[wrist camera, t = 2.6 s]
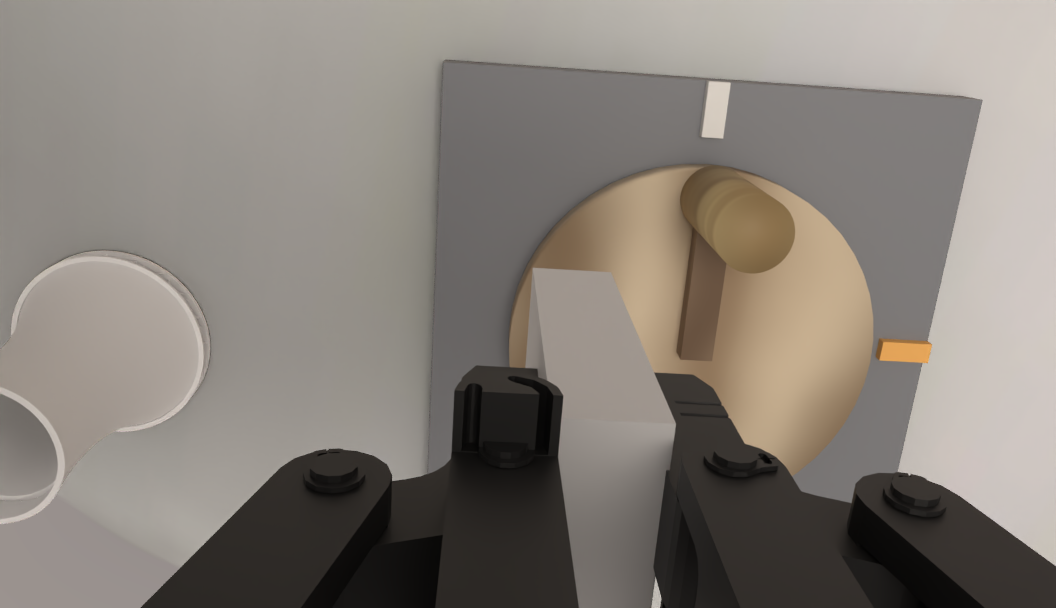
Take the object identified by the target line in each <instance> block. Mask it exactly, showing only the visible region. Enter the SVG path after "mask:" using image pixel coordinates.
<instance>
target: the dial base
mask: <svg viewBox="0 0 1056 608" xmlns="http://www.w3.org/2000/svg"><path fill="white" fill-rule="evenodd" d="M981 105H982V100H980V99H975V98H969V97H964V96H952V95H938V94H923V93H909V92H895V91H881V90H867V89H852V88H838V87H824V86H810V85H796V84H781V83H767V82H753V81H739V80H725V79H710V78H696V77H682V76H668V75H654V74H639V73H625V72H611V71H597V70H583V69H568V68H554V67H540V66H526V65H512V64H498V63H483V62H469V61H455V60H445V61H444V62H443V80H442V106H441V133H440V159H439V186H438V212H437V239H436V265H435V292H434V318H433V345H432V371H431V397H430V424H429V450H428V474H429V473H432V472H434V471H436V470H438V469H439V468H441V467H443V466H444V465H445V464H446V463H447V462H448V461H449V460H450V459H451V452H452V431H453V409H454V390H455V388H456V387H457V385H458V384H459V382H460V381H461V380H462V377H463V376H464V375H465V374H466V373H468V372H469V371H470V370H471V369H472V368H473V367H475V366H476V365H478V366H497V367H510V364H509V326H510V319H511V311H512V306H513V302H514V299H515V295H516V292H517V288H518V285H519V283H520V280H521V278H522V276H523V273H524V271H525V269H526V266H527V264H528V263H529V261H530V259H531V258H532V256H533V254H534V253H535V251H536V249H537V248H538V246H539V245H540V243H541V242H542V241H543V240H544V238H545V237H546V236H547V235H548V233H549V232H550V231H551V229H552V228H553V227H554V226H555V225H556V224H557V223H558V222H559V221H560V220H561V219H562V218H563V217H564V216H565V215H566V214H567V213H568V212H569V211H570V210H571V209H573V208H574V207H575V206H577V205H578V204H579V203H581V202H582V201H584V200H585V199H586V198H588V197H589V196H590V195H592V194H594V193H595V192H597V191H599V190H601V189H602V188H604V187H606V186H608V185H609V184H611V183H613V182H616V181H618V180H621V179H623V178H626V177H628V176H630V175H633V174H635V173H639V172H643V171H647V170H651V169H654V168H658V167H665V166H672V165H680V164H711V165H719V166H726V167H732V168H736V169H740V170H743V171H747V172H751V173H754V174H757V175H759V176H761V177H764V178H766V179H768V180H771V181H773V182H775V183H777V184H779V185H780V186H782V187H783V188H785V189H787V190H788V191H790V192H792V193H793V194H795V195H797V196H798V197H800V198H801V199H803V200H805V201H806V202H808V203H809V204H810V205H812V206H813V207H814V208H815V209H816V210H818V211H819V212H820V213H821V214H823V215H824V216H825V217H826V218H827V219H828V220H829V221H830V222H831V223H832V225H833V226H834V227H835V228H836V229H837V230H838V231H839V232H840V233H841V235H842V236H843V237H844V239H845V240H846V242H847V244H848V245H849V247H850V248H851V250H852V251H853V253H854V254H855V256H856V259H857V261H858V263H859V265H860V267H861V269H862V271H863V274H864V277H865V280H866V283H867V287H868V290H869V294H870V298H871V305H872V312H873V346H872V353H871V360H870V365H869V368H868V372H867V376H866V379H865V383H864V386H863V388H862V390H861V393H860V395H859V397H858V400H857V402H856V404H855V406H854V408H853V410H852V411H851V413H850V415H849V416H848V418H847V420H846V422H845V423H844V425H843V426H842V427H841V429H840V430H839V431H838V433H837V434H836V435H835V437H834V438H833V439H832V441H831V442H830V443H829V444H828V445H827V446H826V447H825V448H824V449H823V450H822V451H821V452H820V453H819V454H818V455H817V457H816V458H815V459H813V460H812V461H811V462H810V463H809V464H807V465H806V466H805V467H804V468H802V469H801V470H800V471H799V472H798V473H796V474H795V475H793V476H792V477H793V479H794V481H795V482H796V484H797V485H798V487H799V489H800V490H801V491H802V492H805V493H809V494H813V495H816V496H821V497H826V498H830V499H835V500H840V501H844V502H849V503H852V498H853V493H854V488H855V484H856V483H857V482H858V481H859V480H860V479H861V478H862V477H863V476H867V475H871V474H875V473H895V472H897V471H898V467H899V463H900V458H901V454H902V450H903V445H904V441H905V437H906V432H907V428H908V423H909V419H910V415H911V410H912V406H913V402H914V397H915V393H916V389H917V384H918V380H919V375H920V371H921V367H922V363H928V360H929V355H930V351H931V347H932V344H931V343H929V342H928V341H927V340H928V336H929V332H930V327H931V323H932V319H933V314H934V310H935V306H936V301H937V297H938V292H939V288H940V284H941V279H942V275H943V271H944V266H945V262H946V258H947V253H948V249H949V244H950V240H951V236H952V231H953V227H954V223H955V218H956V214H957V209H958V205H959V201H960V196H961V192H962V188H963V183H964V179H965V175H966V170H967V166H968V161H969V157H970V153H971V148H972V144H973V140H974V135H975V131H976V127H977V122H978V118H979V113H980V109H981Z"/></svg>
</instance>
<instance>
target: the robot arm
mask: <svg viewBox="0 0 1056 608" xmlns="http://www.w3.org/2000/svg"><path fill="white" fill-rule="evenodd" d="M728 416H729V415H728V413H727V411H726V410H725V408H724V406H722V403H721V401H720V399H719V397H718V396H717V394H716V392H715V390H714V389H713V388H712V387H711V386H709V385H708V384H706V383H705V382H704V381H702V380H701V379H699V378H698V377H696V376H695V375H693V374H674V373H655V372H654V371H653V369H652V367H651V364H650V362H649V360H648V357H647V355H646V353H645V350H644V348H643V346H642V343H641V341H640V339H639V336H638V334H637V332H636V329H635V327H634V325H633V322H632V320H631V318H630V315H629V313H628V311H627V308H626V306H625V304H624V301H623V299H622V297H621V294H620V292H619V290H618V287H617V285H616V283H615V280H614V278H613V276H612V273H611V272H598V271H581V270H564V269H547V268H533V271H532V285H531V298H530V312H529V325H528V338H527V352H526V365H525V368H516V367H497V366H478V365H476V366H475V367H473V368H472V369H471V370H470V371H469V372H468V373H466V374H465V375H464V376H463V377H462V380H461V381H460V382H459V384H458V385H457V387H456V388H455V390H454V409H453V431H452V452H451V459H450V460H449V461H448V462H447V463H446V464H445V465H444V466H443V467H441V468H439V469H438V470H436V471H434V472H432V473H429V474H426V475H424V476H421V477H416V478H411V479H406V480H398V481H392V474H391V472H390V470H389V468H388V466H387V464H385V463H384V462H382V461H381V460H379V459H378V458H376V457H375V456H372V455H368V454H365V453H361V452H358V451H348V450H343V449H329V450H328V451H326V449H325V450H319V451H315V452H313V453H310V454H306V455H303V456H300V457H297V458H294V459H293V460H291V461H290V462H288V463H287V464H285V465H284V466H282V467H281V468H280V469H279V470H278V471H277V472H276V473H275V474H274V475H273V476H272V477H271V478H270V479H269V480H268V481H267V482H266V483H265V484H264V485H263V486H262V487H261V488H260V489H259V490H258V491H257V492H256V493H255V494H254V495H253V496H252V497H251V498H250V499H249V500H248V501H247V502H246V503H245V504H244V505H243V506H242V507H241V508H240V509H239V510H238V511H237V512H236V513H235V514H234V515H233V516H232V517H231V518H230V519H229V520H228V521H227V522H226V523H225V524H224V525H223V526H222V527H221V528H220V529H219V530H218V531H217V532H216V533H215V534H214V535H213V536H212V537H211V538H210V539H209V540H208V541H207V542H206V543H205V544H204V545H203V546H202V547H201V548H200V549H199V550H198V551H197V552H196V553H195V554H194V555H193V556H192V557H191V558H190V559H189V560H188V561H187V562H186V563H185V564H184V565H183V566H182V567H181V568H180V569H179V570H178V571H177V572H176V573H175V574H174V575H173V576H172V577H171V578H170V579H169V580H168V581H167V582H166V583H165V584H164V585H163V586H162V587H161V588H160V589H159V590H158V591H157V592H156V593H155V594H154V595H153V596H152V597H151V598H150V599H149V600H148V601H147V602H146V603H145V604H144V605H143V606H142V607H141V608H651V605H652V598H653V590H654V583H655V576H656V579H657V583H658V587H659V590H660V594H661V598H662V600H661V607H660V608H1056V566H1055V565H1053V564H1052V563H1050V562H1049V561H1048V560H1046V559H1045V558H1044V557H1042V556H1041V555H1039V554H1038V553H1037V552H1035V551H1034V550H1033V549H1031V548H1030V547H1028V546H1027V545H1026V544H1024V543H1023V542H1022V541H1020V540H1019V539H1018V538H1016V537H1015V536H1013V535H1012V534H1011V533H1009V532H1008V531H1007V530H1005V529H1004V528H1002V527H1001V526H1000V525H998V524H997V523H996V522H994V521H993V520H991V519H990V518H989V517H987V516H986V515H985V514H983V513H982V512H981V511H979V510H978V509H976V508H975V507H974V506H972V505H971V504H970V503H968V502H967V501H965V500H964V499H963V498H961V497H960V496H958V495H957V494H955V493H953V492H951V491H950V490H948V489H946V488H944V487H943V486H941V485H938V484H935V483H933V482H930V481H927V480H926V479H925V478H923V477H921V476H917V475H913V474H911V475H910V476H909V475H908V473H900V472H895V473H875V474H871V475H867V476H863V477H862V478H861V479H860V480H859V481H858V482H857V483H856V484H855V488H854V493H853V498H852V503H849V502H844V501H840V500H835V499H830V498H826V497H821V496H816V495H813V494H809V493H805V492H802V491H801V490H800V489H799V487H798V485H797V484H796V482H795V481H794V479H793V477H792V476H791V474H790V473H789V471H788V469H787V468H786V466H785V465H784V464H783V463H782V462H781V461H780V460H779V459H778V458H777V457H775V456H773V455H772V454H770V453H768V452H766V451H764V450H762V449H760V448H757V447H754V446H751V445H748V444H745V443H744V441H743V440H742V438H741V436H740V434H739V433H738V431H737V429H736V427H735V426H734V424H733V422H732V420H731V419H730V418H728Z"/></svg>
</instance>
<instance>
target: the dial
mask: <svg viewBox="0 0 1056 608" xmlns="http://www.w3.org/2000/svg"><path fill="white" fill-rule="evenodd" d="M533 268H547V269H564V270H581V271H598V272H611V273H612V276H613V278H614V280H615V283H616V285H617V287H618V290H619V292H620V294H621V297H622V299H623V301H624V304H625V306H626V308H627V311H628V313H629V315H630V318H631V320H632V322H633V325H634V327H635V329H636V332H637V334H638V336H639V339H640V341H641V343H642V346H643V348H644V350H645V353H646V355H647V357H648V360H649V362H650V364H651V367H652V369H653V371H654V372H655V373H674V374H693V375H695V376H696V377H698V378H699V379H701V380H702V381H704V382H705V383H706V384H708V385H709V386H711V387H712V388H713V389H714V390H715V392H716V394H717V396H718V397H719V399H720V401H721V403H722V406H724V408H725V410H726V411H727V413H728V415H729V416H728V418H730V419H731V420H732V422H733V424H734V426H735V427H736V429H737V431H738V433H739V434H740V436H741V438H742V440H743V441H744V443H745V444H748V445H751V446H754V447H757V448H760V449H762V450H764V451H766V452H768V453H770V454H772V455H773V456H775V457H777V458H778V459H779V460H780V461H781V462H782V463H783V464H784V465H785V466H786V468H787V469H788V471H789V473H790V474H791V476H793V475H795V474H796V473H798V472H799V471H800V470H801V469H802V468H804V467H805V466H806V465H807V464H809V463H810V462H811V461H812V460H813V459H815V458H816V457H817V455H818V454H819V453H820V452H821V451H822V450H823V449H824V448H825V447H826V446H827V445H828V444H829V443H830V442H831V441H832V439H833V438H834V437H835V435H836V434H837V433H838V431H839V430H840V429H841V427H842V426H843V425H844V423H845V422H846V420H847V418H848V416H849V415H850V413H851V411H852V410H853V408H854V406H855V404H856V402H857V400H858V397H859V395H860V393H861V390H862V388H863V386H864V383H865V379H866V376H867V372H868V368H869V365H870V360H871V353H872V346H873V312H872V305H871V298H870V294H869V290H868V287H867V283H866V280H865V277H864V274H863V271H862V269H861V267H860V265H859V263H858V261H857V259H856V256H855V254H854V253H853V251H852V250H851V248H850V247H849V245H848V244H847V242H846V240H845V239H844V237H843V236H842V235H841V233H840V232H839V231H838V230H837V229H836V228H835V227H834V226H833V225H832V223H831V222H830V221H829V220H828V219H827V218H826V217H825V216H824V215H823V214H821V213H820V212H819V211H818V210H816V209H815V208H814V207H813V206H812V205H810V204H809V203H808V202H806V201H805V200H803V199H801V198H800V197H798V196H797V195H795V194H793V193H792V192H790V191H788V190H787V189H785V188H783V187H782V186H780V185H779V184H777V183H775V182H773V181H771V180H768V179H766V178H764V177H761V176H759V175H757V174H754V173H751V172H747V171H743V170H740V169H736V168H732V167H726V166H719V165H711V164H680V165H672V166H665V167H658V168H654V169H651V170H647V171H643V172H639V173H635V174H633V175H630V176H628V177H626V178H623V179H621V180H618V181H616V182H613V183H611V184H609V185H608V186H606V187H604V188H602V189H601V190H599V191H597V192H595V193H594V194H592V195H590V196H589V197H588V198H586V199H585V200H584V201H582V202H581V203H579V204H578V205H577V206H575V207H574V208H573V209H571V210H570V211H569V212H568V213H567V214H566V215H565V216H564V217H563V218H562V219H561V220H560V221H559V222H558V223H557V224H556V225H555V226H554V227H553V228H552V229H551V231H550V232H549V233H548V235H547V236H546V237H545V238H544V240H543V241H542V242H541V243H540V245H539V246H538V248H537V249H536V251H535V253H534V254H533V256H532V258H531V259H530V261H529V263H528V264H527V266H526V269H525V271H524V273H523V276H522V278H521V280H520V283H519V285H518V288H517V292H516V295H515V299H514V302H513V306H512V311H511V319H510V326H509V364H510V367H516V368H525V365H526V352H527V338H528V325H529V312H530V298H531V285H532V271H533Z"/></svg>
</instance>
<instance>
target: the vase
mask: <svg viewBox="0 0 1056 608" xmlns="http://www.w3.org/2000/svg"><path fill="white" fill-rule="evenodd" d="M210 348H211V346H210V336H209V330H208V326H207V323H206V320H205V317H204V315H203V312H202V310H201V308H200V307H199V305H198V303H197V301H196V300H195V298H194V297H193V295H192V294H191V293H190V292H189V290H188V289H187V288H186V287H185V286H184V285H183V284H182V283H181V282H180V281H179V280H178V279H177V278H176V277H175V276H173V275H172V274H171V273H170V272H168V271H167V270H165V269H164V268H162V267H161V266H159V265H157V264H155V263H153V262H151V261H149V260H147V259H145V258H142V257H139V256H136V255H133V254H129V253H125V252H119V251H107V250H101V251H90V252H84V253H80V254H76V255H73V256H71V257H68V258H66V259H64V260H62V261H60V262H58V263H56V264H55V265H53V266H51V267H49V268H47V269H46V270H44V271H43V272H41V273H40V274H39V275H37V276H36V277H35V278H34V279H33V280H32V281H31V282H30V283H29V284H28V285H27V287H26V288H25V289H24V291H23V292H22V294H21V295H20V297H19V299H18V301H17V304H16V306H15V309H14V312H13V316H12V322H11V337H10V339H9V340H8V341H7V343H6V344H5V345H4V346H3V347H2V348H1V349H0V524H6V523H13V522H17V521H21V520H24V519H27V518H29V517H31V516H33V515H35V514H37V513H38V512H40V511H41V510H43V509H44V508H45V507H46V506H47V505H48V504H49V503H50V502H51V501H52V500H53V498H54V497H55V496H56V494H57V493H58V491H59V489H60V487H61V485H62V484H63V482H64V480H65V479H66V477H67V476H68V474H69V473H70V471H71V470H72V469H73V467H74V466H75V465H76V463H77V462H78V461H79V460H80V459H81V457H82V456H83V455H84V454H85V453H86V452H87V451H88V450H89V449H90V448H92V447H93V446H94V445H95V444H96V443H97V442H99V441H100V440H101V439H103V438H104V437H106V436H107V435H109V434H111V433H112V432H127V431H136V430H141V429H145V428H149V427H152V426H155V425H157V424H159V423H162V422H163V421H165V420H167V419H169V418H170V417H172V416H173V415H175V414H176V413H177V412H178V411H179V410H181V409H182V408H183V407H184V406H185V404H186V403H187V402H188V401H189V399H190V398H191V397H192V396H193V394H194V393H195V392H196V391H197V389H198V388H199V386H200V385H201V383H202V381H203V379H204V377H205V374H206V372H207V369H208V365H209V360H210ZM142 423H143V424H142ZM37 497H38V498H37Z"/></svg>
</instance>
